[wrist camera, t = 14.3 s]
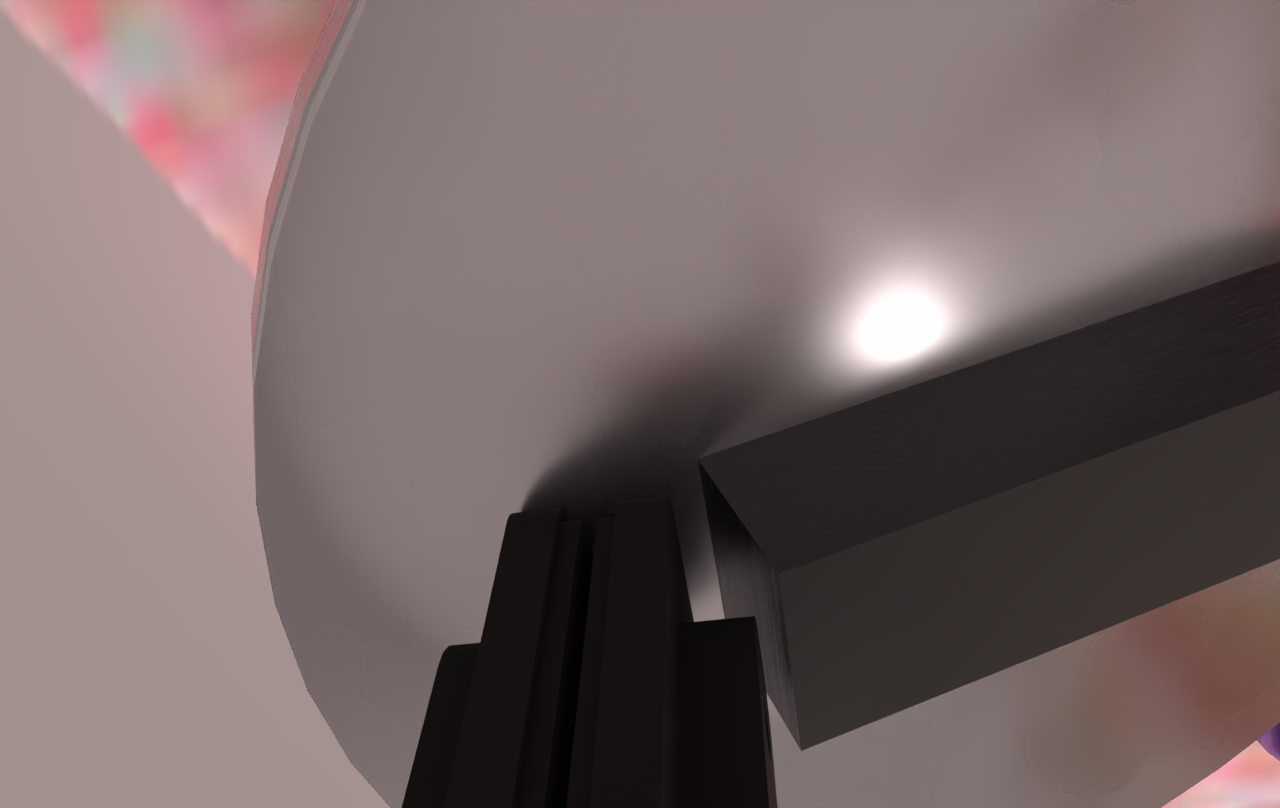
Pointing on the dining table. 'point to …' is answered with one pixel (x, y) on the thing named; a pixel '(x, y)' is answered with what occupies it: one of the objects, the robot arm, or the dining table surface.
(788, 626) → the cooker lid
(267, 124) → the dining table surface
